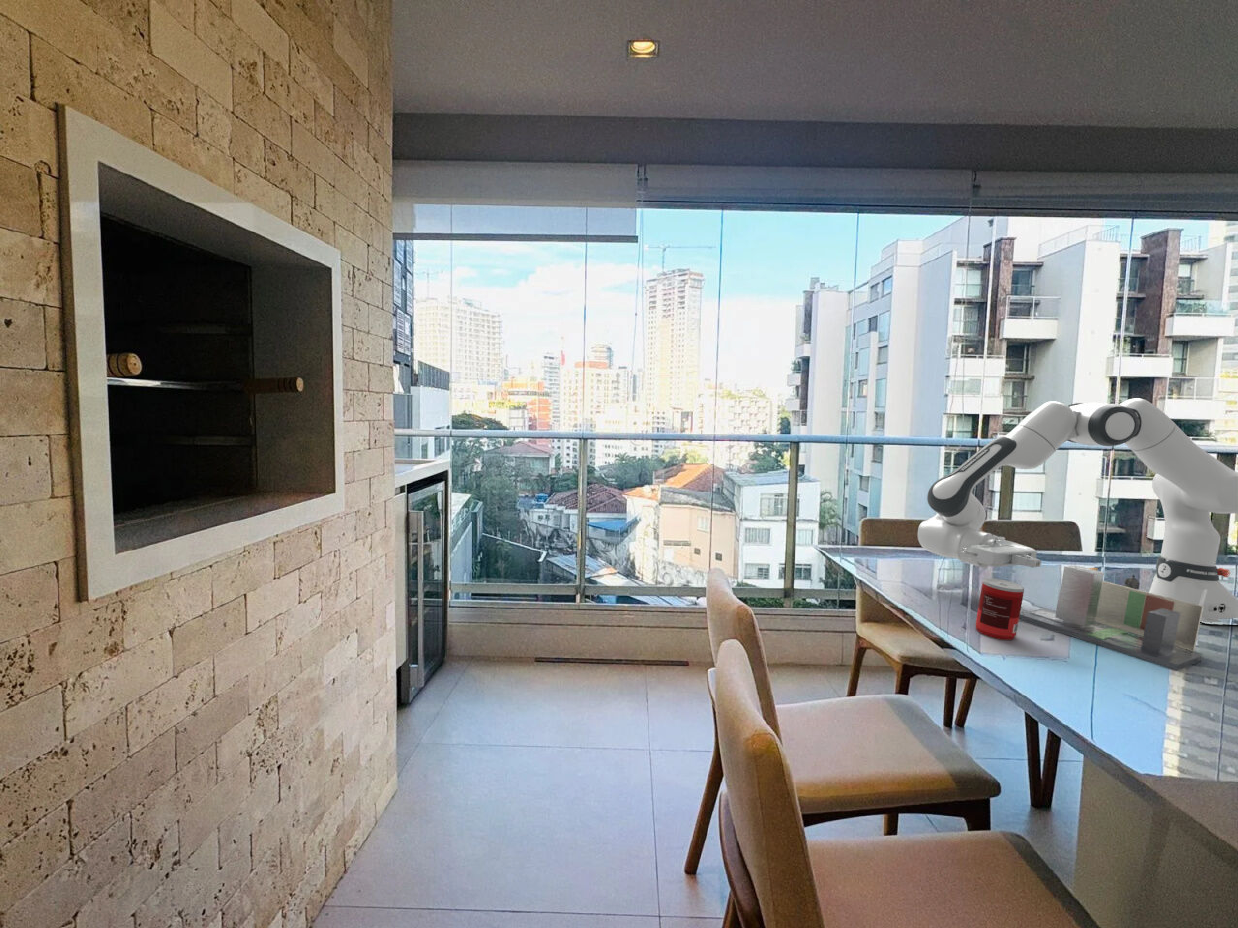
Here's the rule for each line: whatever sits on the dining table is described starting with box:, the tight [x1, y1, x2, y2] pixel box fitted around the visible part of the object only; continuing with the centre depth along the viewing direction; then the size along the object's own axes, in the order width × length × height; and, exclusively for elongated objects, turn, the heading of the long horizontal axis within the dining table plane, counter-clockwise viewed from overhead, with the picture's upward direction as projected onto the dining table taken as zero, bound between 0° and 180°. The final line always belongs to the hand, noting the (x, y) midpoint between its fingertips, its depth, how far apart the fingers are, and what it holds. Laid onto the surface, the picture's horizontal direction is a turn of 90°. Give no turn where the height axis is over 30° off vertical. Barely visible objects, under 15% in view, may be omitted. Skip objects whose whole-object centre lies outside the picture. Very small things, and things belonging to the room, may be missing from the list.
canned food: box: [974, 577, 1025, 641], centre depth 140 cm, size 8×8×11 cm
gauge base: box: [1019, 580, 1204, 671], centre depth 147 cm, size 30×21×10 cm
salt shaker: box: [1123, 574, 1141, 590], centre depth 160 cm, size 6×6×12 cm
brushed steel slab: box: [1055, 564, 1105, 627], centre depth 151 cm, size 6×8×12 cm
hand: (1038, 564), depth 157 cm, fingers closed
